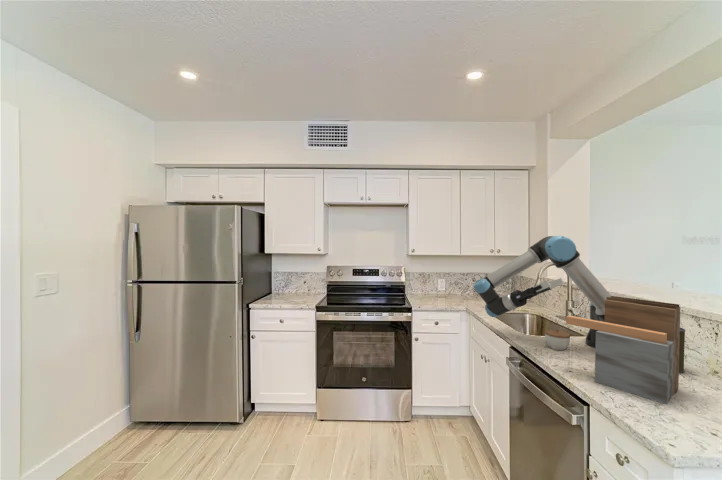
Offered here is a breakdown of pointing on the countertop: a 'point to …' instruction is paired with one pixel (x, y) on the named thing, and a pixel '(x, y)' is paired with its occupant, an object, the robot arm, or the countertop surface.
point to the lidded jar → (557, 339)
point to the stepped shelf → (639, 349)
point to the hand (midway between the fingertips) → (556, 281)
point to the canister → (681, 350)
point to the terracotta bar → (618, 329)
